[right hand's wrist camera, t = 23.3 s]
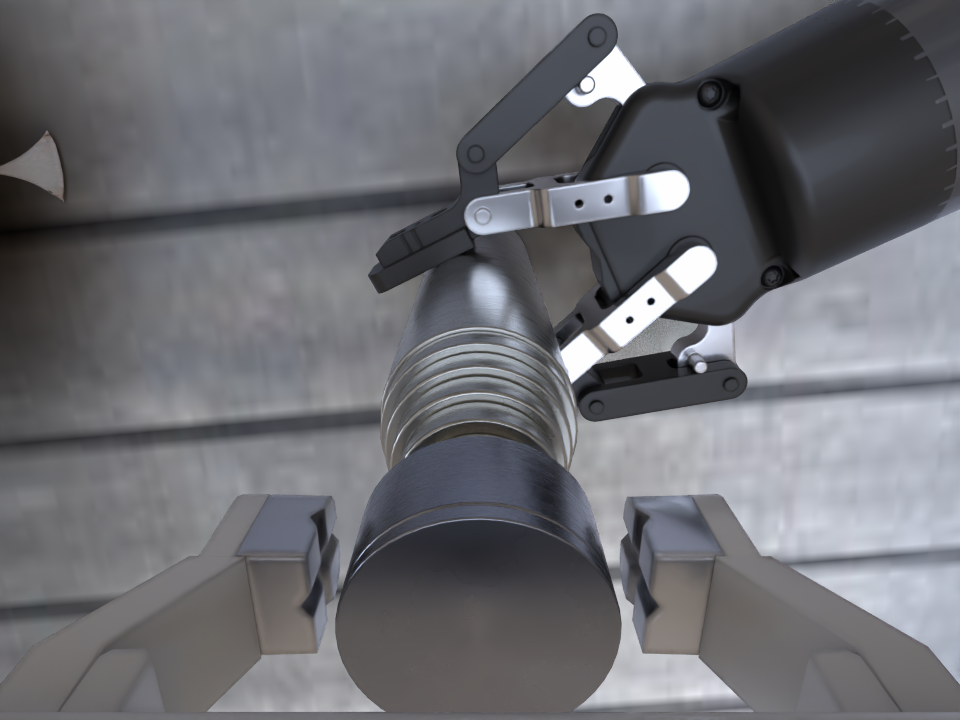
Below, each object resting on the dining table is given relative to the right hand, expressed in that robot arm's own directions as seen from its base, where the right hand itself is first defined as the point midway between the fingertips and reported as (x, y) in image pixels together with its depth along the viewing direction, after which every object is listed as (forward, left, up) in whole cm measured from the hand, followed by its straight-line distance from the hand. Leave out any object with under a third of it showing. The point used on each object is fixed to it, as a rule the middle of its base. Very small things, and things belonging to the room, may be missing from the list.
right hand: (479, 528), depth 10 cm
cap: (0, 0, +2) cm, 2 cm away
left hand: (-3, 0, -13) cm, 13 cm away
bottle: (0, 0, -19) cm, 19 cm away
